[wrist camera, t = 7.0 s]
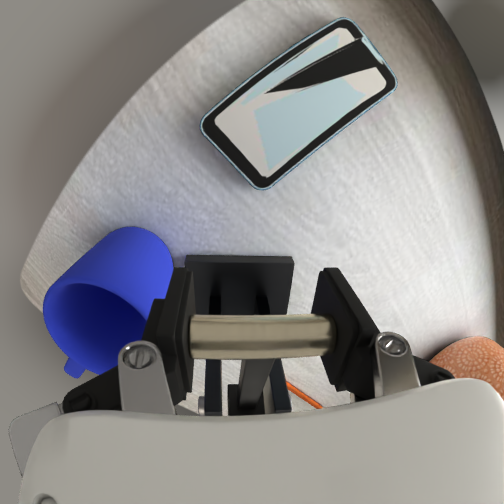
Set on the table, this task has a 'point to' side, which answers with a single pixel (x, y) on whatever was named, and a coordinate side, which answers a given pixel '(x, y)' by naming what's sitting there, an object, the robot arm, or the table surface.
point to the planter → (474, 361)
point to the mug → (107, 298)
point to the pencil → (303, 396)
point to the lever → (258, 348)
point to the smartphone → (298, 102)
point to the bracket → (242, 313)
